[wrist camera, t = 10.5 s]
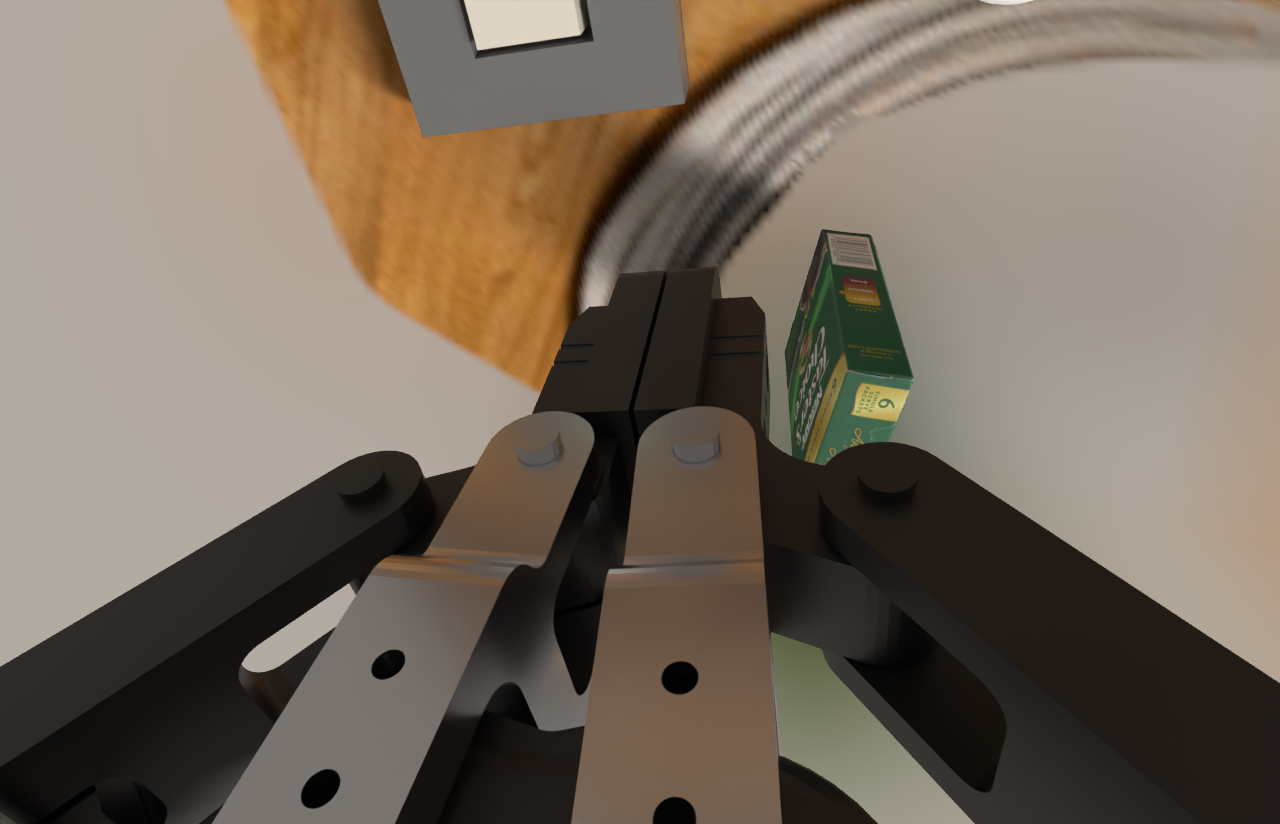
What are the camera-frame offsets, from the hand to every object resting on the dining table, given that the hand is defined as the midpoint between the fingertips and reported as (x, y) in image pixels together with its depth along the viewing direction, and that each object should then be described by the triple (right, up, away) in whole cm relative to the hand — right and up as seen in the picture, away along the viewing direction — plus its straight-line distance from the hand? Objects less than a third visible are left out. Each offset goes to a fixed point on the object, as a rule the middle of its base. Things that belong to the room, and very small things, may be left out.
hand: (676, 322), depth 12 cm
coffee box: (+9, +5, +28) cm, 30 cm away
